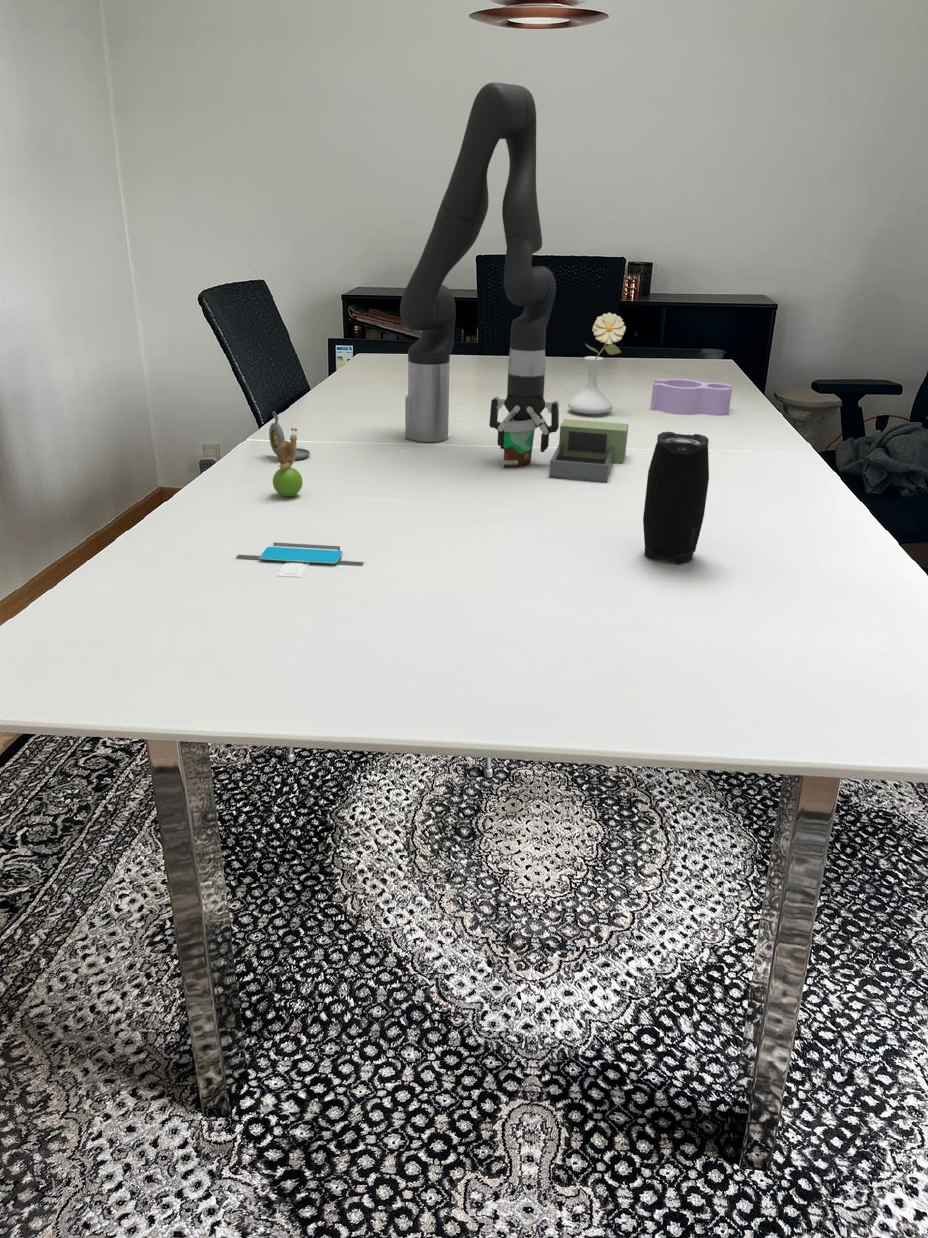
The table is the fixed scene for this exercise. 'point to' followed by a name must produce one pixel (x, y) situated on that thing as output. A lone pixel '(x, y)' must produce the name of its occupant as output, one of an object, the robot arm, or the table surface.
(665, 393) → the purple double cup holder
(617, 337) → the flower in vase
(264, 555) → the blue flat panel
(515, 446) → the food container
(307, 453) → the pocket watch
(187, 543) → the table surface
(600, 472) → the gray open tray
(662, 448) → the portable speaker
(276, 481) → the snail figurine
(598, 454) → the pale green rectangular block
